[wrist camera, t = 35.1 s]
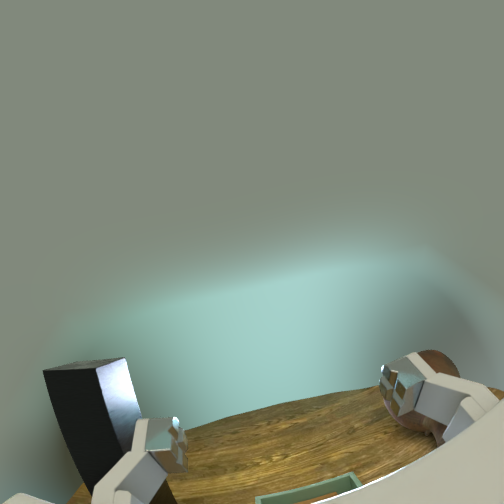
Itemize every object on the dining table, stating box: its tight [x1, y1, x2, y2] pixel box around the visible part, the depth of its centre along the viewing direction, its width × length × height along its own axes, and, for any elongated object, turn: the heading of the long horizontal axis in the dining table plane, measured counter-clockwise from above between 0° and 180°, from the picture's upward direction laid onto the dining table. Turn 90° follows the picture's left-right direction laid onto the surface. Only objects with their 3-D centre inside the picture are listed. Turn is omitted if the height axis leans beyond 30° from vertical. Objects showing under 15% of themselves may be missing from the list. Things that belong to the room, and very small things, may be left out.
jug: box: [383, 350, 460, 448], centre depth 45 cm, size 20×20×30 cm
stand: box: [43, 357, 177, 504], centre depth 27 cm, size 9×9×36 cm
